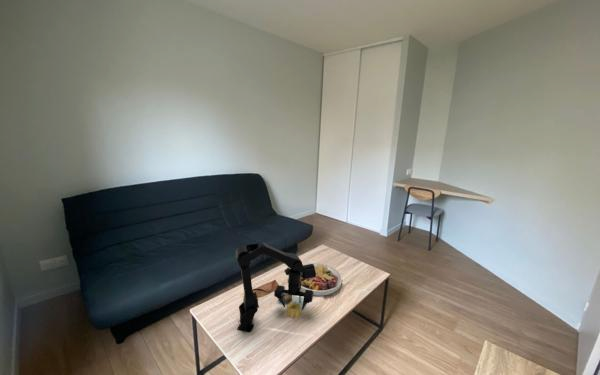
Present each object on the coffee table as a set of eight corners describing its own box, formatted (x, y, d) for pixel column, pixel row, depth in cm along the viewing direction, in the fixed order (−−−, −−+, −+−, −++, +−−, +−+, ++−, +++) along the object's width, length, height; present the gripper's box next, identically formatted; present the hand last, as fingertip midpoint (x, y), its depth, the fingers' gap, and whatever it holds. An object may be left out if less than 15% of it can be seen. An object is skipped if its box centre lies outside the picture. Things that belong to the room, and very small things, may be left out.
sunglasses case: (257, 302, 129) (253, 290, 130) (251, 302, 134) (248, 290, 135) (283, 289, 140) (280, 278, 142) (277, 290, 145) (274, 278, 147)
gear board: (305, 310, 124) (305, 300, 123) (276, 305, 127) (276, 296, 126) (307, 300, 132) (308, 291, 131) (280, 296, 135) (280, 287, 133)
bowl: (282, 280, 149) (282, 269, 148) (316, 264, 169) (316, 254, 167) (317, 306, 127) (317, 293, 126) (351, 285, 147) (352, 273, 145)
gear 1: (290, 305, 126) (290, 299, 125) (276, 303, 127) (276, 296, 126) (293, 296, 133) (293, 290, 132) (280, 294, 134) (280, 288, 133)
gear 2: (298, 320, 117) (299, 312, 116) (285, 318, 118) (285, 309, 117) (301, 311, 123) (301, 302, 122) (288, 309, 125) (288, 300, 123)
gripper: (315, 273, 123) (314, 300, 126) (280, 269, 126) (279, 295, 129) (312, 286, 112) (311, 315, 115) (273, 281, 115) (273, 309, 119)
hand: (293, 308), depth 120 cm, fingers open, 9 cm apart
